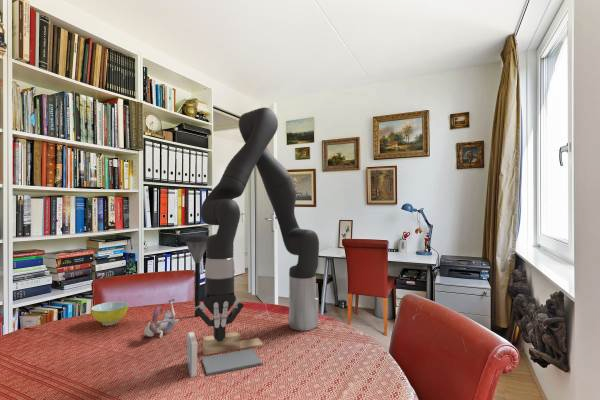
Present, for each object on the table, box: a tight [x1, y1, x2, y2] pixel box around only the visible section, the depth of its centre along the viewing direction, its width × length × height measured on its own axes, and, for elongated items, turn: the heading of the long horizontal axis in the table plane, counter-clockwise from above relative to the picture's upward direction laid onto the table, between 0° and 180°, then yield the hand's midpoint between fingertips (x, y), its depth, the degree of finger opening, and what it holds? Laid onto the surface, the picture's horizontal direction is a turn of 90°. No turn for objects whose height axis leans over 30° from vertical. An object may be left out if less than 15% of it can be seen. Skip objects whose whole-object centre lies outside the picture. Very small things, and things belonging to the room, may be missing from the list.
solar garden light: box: [180, 234, 209, 318], centre depth 125 cm, size 12×12×30 cm
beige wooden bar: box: [202, 331, 264, 356], centre depth 98 cm, size 17×5×4 cm, turn 115°
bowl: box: [90, 301, 129, 327], centre depth 117 cm, size 11×12×6 cm
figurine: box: [143, 298, 179, 339], centre depth 107 cm, size 12×9×15 cm
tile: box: [186, 331, 198, 378], centre depth 85 cm, size 2×8×8 cm, turn 24°
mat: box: [201, 348, 263, 377], centre depth 89 cm, size 14×9×1 cm, turn 114°
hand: (219, 340), depth 88 cm, fingers closed
